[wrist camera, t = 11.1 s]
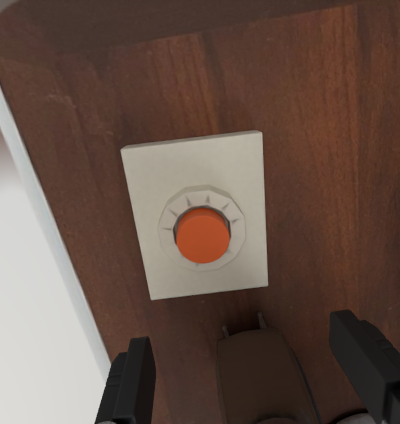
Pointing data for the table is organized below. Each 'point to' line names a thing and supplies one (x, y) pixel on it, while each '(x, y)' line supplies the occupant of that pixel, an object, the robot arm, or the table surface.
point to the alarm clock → (262, 379)
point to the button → (202, 235)
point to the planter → (358, 419)
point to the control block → (199, 198)
